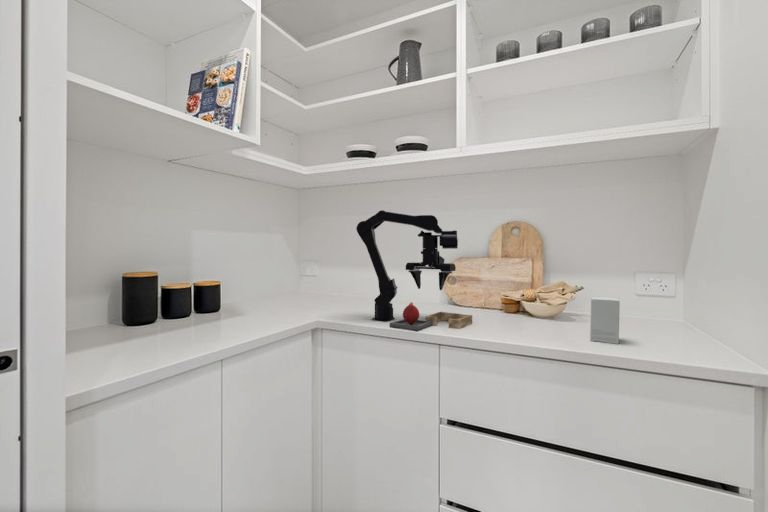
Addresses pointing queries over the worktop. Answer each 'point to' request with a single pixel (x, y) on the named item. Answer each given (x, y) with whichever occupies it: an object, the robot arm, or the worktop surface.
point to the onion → (411, 314)
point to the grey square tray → (415, 327)
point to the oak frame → (451, 319)
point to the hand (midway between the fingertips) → (429, 289)
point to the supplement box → (605, 320)
